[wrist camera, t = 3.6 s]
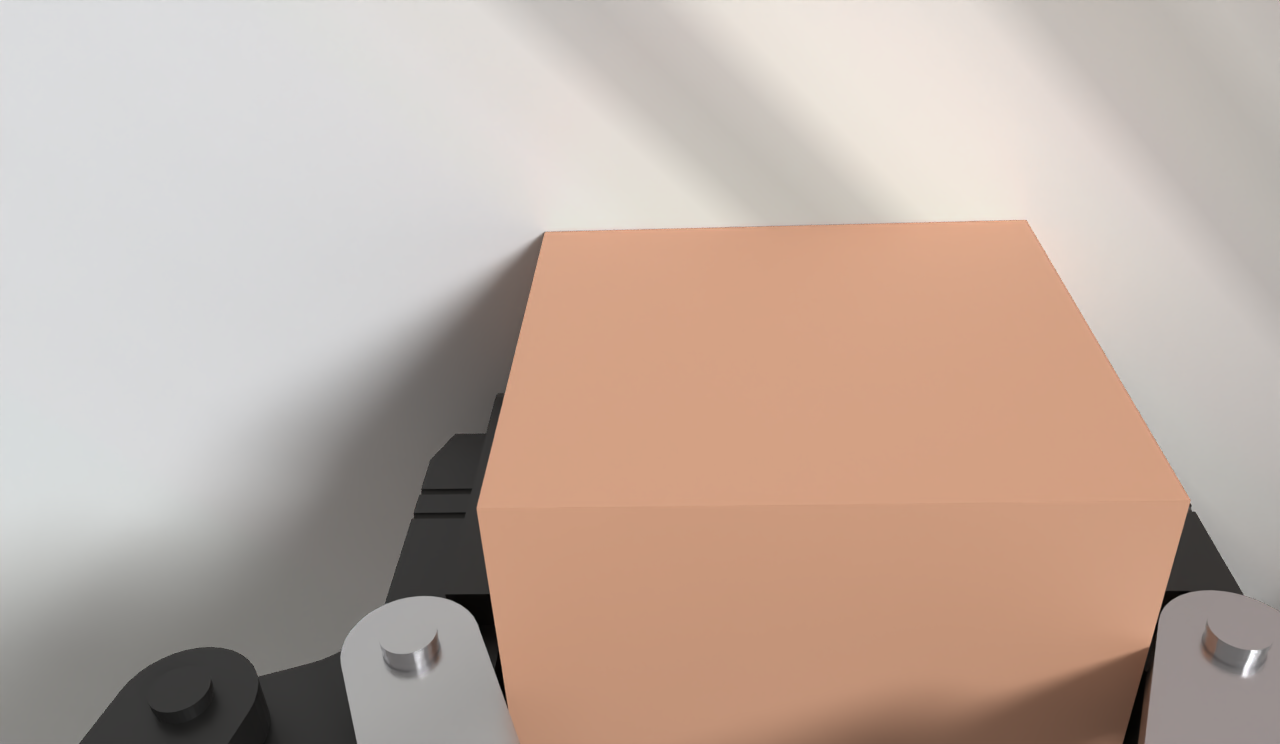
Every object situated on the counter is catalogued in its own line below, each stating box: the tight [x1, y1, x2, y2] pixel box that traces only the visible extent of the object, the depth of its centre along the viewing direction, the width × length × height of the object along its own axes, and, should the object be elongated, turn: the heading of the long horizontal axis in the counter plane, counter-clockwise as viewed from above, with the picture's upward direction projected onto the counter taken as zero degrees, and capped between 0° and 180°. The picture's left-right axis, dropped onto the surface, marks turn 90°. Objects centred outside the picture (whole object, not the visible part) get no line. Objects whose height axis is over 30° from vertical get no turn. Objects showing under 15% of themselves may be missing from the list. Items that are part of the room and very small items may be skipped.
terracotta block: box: [477, 220, 1191, 744], centre depth 12 cm, size 6×6×5 cm
